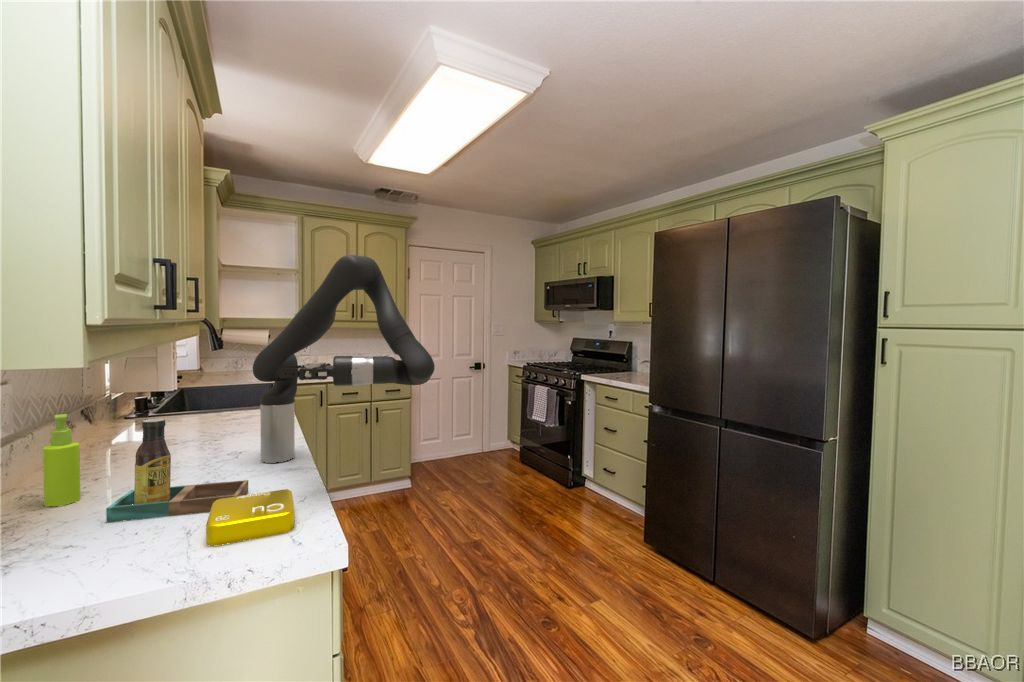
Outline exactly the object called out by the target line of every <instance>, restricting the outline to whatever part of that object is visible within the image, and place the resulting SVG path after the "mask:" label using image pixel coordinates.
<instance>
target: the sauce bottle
mask: <svg viewBox="0 0 1024 682" xmlns="http://www.w3.org/2000/svg"><path fill="white" fill-rule="evenodd" d="M165 427H166V419H164V418H152V419H145V420H142V422H141V428H142V439H141V440H142V443H141V444H140V445H139V447H138V448H137V450H136V452H135V463H134V487H133V490H134V504H143V503H154V502H164V501H169V500H170V487H171V471H172V470H171V469H172V468H171V467H172V466H171V465H172V464H171V462H172V460H171V459H172V454H171V453H170V450H169V448H168V446H167V443H166V440H165V439H166V438H165V436H166V435H165Z"/></svg>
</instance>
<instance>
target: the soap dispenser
mask: <svg viewBox="0 0 1024 682" xmlns="http://www.w3.org/2000/svg"><path fill="white" fill-rule="evenodd" d="M67 418H68V414H67V413H62V414H61V413H60V414H55V415H54V421H55V428H54V429H53V430H51V431H50V444H48V445H45V446H43V447H42V460H43V461H42V465H43V466H42V467H43V471H42V472H43V501H44V502H43V503H44V504H43V505H45V506H58V507H61V506H60V505H64V506H67V505H66V504H68V505H70V503H72V504H74V503H77V502H78V500H79V499H80V498H81V497H82V496H81V463H80V462H81V458H80V457H81V456H80V452H81V451H80V450H81V449H80V443H79V442H77V441H76V442H75V441H74V442H73V440H72V439H73V438H72V431H73V430H72V429H71V428H69V427H67ZM80 500H81V499H80ZM80 500H79V501H80ZM76 501H77V502H76ZM73 502H74V503H73ZM45 506H44V507H45Z"/></svg>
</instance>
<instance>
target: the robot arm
mask: <svg viewBox="0 0 1024 682" xmlns="http://www.w3.org/2000/svg"><path fill="white" fill-rule="evenodd" d="M361 290H362V291H363V292H364V293H366V295H367V296H368V298H370V300H371V302H372V304H373V306H374V309H375V314H376V320H377V321H376V322H377V326H378V328H379V331H380V334H381V335H382V337H383V339H384V340H385V341H386V343H387V345H388V347H389V348H390V350H391V351H392V352H393V354H395V355H397V356H398V357H399V358H400V359H396V358H395V357H393V356H383V355H382V356H369V355H335V356H334V357H333V363H329V362H328V363H326V362H318V363H317V362H316V363H315V362H312V363H304V364H302V365H301V364H300V365H299V364H298V359H297V357H296V355H295V354H297V353H299V352H300V351H302V350H304V349H306V348H308V347H310V346H312V345H314V343H317V342H318V341H319V340H320V339H322V338H323V336H324V335H325V334H326V333H327V332H328V331H329V330H330V329H331V327H332V326H333V324H334V322H335V320H336V314H337V308H338V306H339V304H340V303H341V302H342V300H343V299H344V298H346V296H347V295H349V294H350V293H351V292H352V291H353V292H354V291H361ZM331 364H332V365H331ZM434 372H435V362H434V360H433V358H432V355H431V354H430V353H429V351H428V350H427V349H426V348H425V347H424V346H423V344H422V343H420V342H419V341H418V339H417V338H416V337H415V335H414V333H413V331H412V330H411V328H410V326H409V325H408V324H407V322H406V320H405V319H404V317H403V315H402V313H401V312H400V310H399V309H398V306H397V304H396V302H395V301H394V298H393V296H392V294H391V292H390V289H389V286H388V284H387V283H386V280H385V277H384V275H383V272H382V270H381V268H380V267H379V265H378V264H377V262H376V261H375V259H373V258H372V257H369V256H364V255H354V254H348V255H344V256H341V257H340V258H339V259H337V261H336V262H335V263H334V265H333V266H332V267H331V268H330V270H329V272H328V274H327V275H326V277H325V278H324V279H323V282H322V283H321V284H320V286H319V287H318V288H317V289H316V291H315V292H314V293H313V294H312V296H311V297H310V298H309V299H308V301H306V303H305V304H303V306H302V307H301V308H300V310H298V312H297V313H296V314H295V315H294V316H293V318H292V319H291V320H290V322H289V323H288V324H287V325H286V326H285V327H284V329H282V331H281V332H279V334H278V335H277V336H276V338H274V339H273V340H272V341H271V342H270V343H269V344H268V345H267V346H265V347H264V348H263V349H262V350H261V351H260V352H259V353H258V354H257V356H256V357H255V358H254V361H253V363H252V373H253V374H252V375H253V376H254V377H255V378H256V379H257V380H258V381H260V382H264V383H265V382H266V383H267V382H268V383H272V382H274V383H273V384H274V385H273V386H272V387H271V388H270V389H269V390H267V391H265V392H263V393H262V394H261V395H260V400H259V401H260V403H259V404H260V407H259V408H260V462H261V461H262V462H261V463H264V462H265V463H266V464H277V463H276V462H279V463H284V462H283V461H285V462H288V461H291V460H293V459H294V458H295V457H296V456H295V454H296V453H295V451H296V449H295V445H296V444H295V441H296V440H295V429H296V428H295V425H296V424H295V423H296V422H295V397H296V396H297V395H296V394H297V391H298V380H300V381H306V380H308V381H313V380H317V381H324V380H328V378H332V382H333V385H334V386H335V387H341V386H342V387H343V386H344V387H346V386H347V387H348V386H351V387H353V386H368V385H379V384H380V385H382V384H394V385H395V384H398V385H404V386H421V385H424V384H425V383H427V382H428V381H429V380H430V379H431V377H432V375H433V374H434ZM294 456H295V457H294ZM292 458H293V459H292ZM290 459H291V460H290ZM287 460H288V461H287Z"/></svg>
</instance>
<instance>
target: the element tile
mask: <svg viewBox="0 0 1024 682" xmlns="http://www.w3.org/2000/svg"><path fill="white" fill-rule="evenodd" d="M293 528H294V529H295V505H294V498H293V492H292V490H290V489H288V488H285V489H278V490H271V491H263V492H258V493H257V492H256V493H249V494H247V495H243V496H236V497H229V498H222V499H218V500H216V501H215V502H214V503H213V504H212V507H211V510H210V512H209V514H208V518H207V521H206V524H205V531H206V532H205V534H206V536H205V543H206V546H208V545H210V546H209V547H215V546H214V545H219V546H223V545H222V544H224V545H228V544H227V543H230V544H234V543H233V542H235V543H239V542H238V541H240V542H244V541H243V540H246V541H249V539H251V540H256V539H261V538H266V537H271V536H276V535H278V536H279V535H282V534H286V532H287V533H288V532H289V531H290V532H292V531H294V529H293ZM255 538H256V539H255Z"/></svg>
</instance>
